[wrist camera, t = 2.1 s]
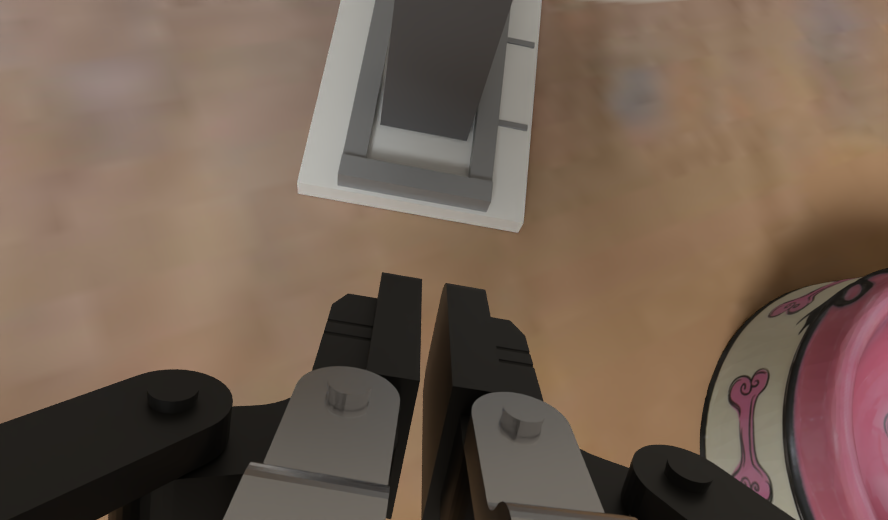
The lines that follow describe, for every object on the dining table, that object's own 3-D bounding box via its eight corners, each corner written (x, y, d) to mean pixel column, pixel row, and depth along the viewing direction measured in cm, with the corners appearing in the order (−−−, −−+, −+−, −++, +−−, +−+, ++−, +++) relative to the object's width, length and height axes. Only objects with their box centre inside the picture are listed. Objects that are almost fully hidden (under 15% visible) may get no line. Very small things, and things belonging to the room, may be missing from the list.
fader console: (517, 232, 32) (529, 212, 30) (298, 193, 31) (296, 170, 29) (546, -102, 41) (556, -133, 39) (377, -139, 40) (379, -173, 38)
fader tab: (466, 141, 32) (530, -54, 22) (380, 124, 32) (403, -82, 21) (473, 88, 33) (536, -120, 23) (390, 71, 33) (417, -146, 23)
